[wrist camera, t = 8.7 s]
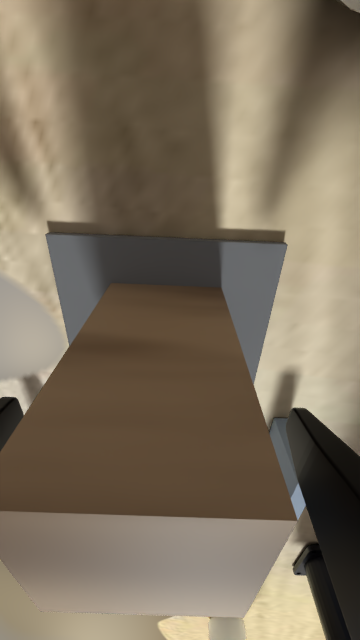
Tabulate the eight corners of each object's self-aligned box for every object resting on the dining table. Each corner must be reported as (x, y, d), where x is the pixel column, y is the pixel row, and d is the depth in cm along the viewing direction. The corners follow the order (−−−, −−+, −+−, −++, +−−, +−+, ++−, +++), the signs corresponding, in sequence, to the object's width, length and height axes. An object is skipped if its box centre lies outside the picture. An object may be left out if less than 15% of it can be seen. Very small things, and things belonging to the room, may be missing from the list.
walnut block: (210, 372, 14) (243, 617, 6) (119, 368, 14) (40, 611, 6) (221, 287, 12) (298, 520, 4) (110, 282, 12) (-38, 510, 4)
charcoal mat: (248, 394, 16) (250, 399, 15) (81, 387, 15) (79, 392, 15) (284, 242, 11) (287, 244, 11) (49, 232, 11) (45, 234, 11)
